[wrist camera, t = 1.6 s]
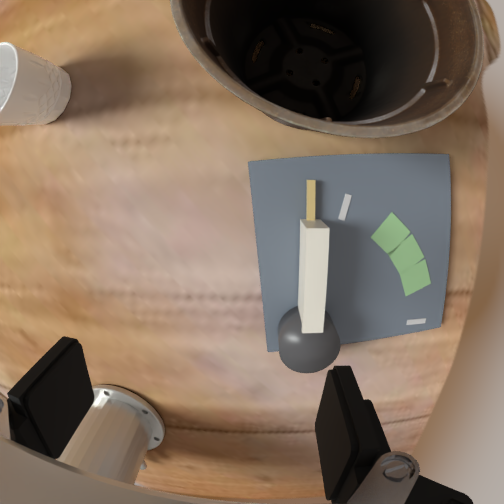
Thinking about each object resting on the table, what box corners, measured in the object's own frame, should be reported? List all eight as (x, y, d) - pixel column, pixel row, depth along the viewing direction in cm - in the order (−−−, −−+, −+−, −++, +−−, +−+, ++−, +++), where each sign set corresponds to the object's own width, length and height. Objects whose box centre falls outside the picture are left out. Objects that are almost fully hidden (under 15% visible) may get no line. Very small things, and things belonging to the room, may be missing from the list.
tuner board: (436, 323, 32) (440, 327, 31) (267, 347, 33) (267, 352, 32) (444, 154, 27) (449, 154, 26) (248, 161, 28) (247, 161, 27)
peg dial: (330, 351, 31) (338, 375, 27) (277, 353, 32) (278, 377, 28) (341, 180, 27) (354, 183, 23) (278, 179, 27) (281, 181, 23)
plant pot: (200, 134, 27) (130, 103, 12) (234, -10, 23) (213, -118, 8) (371, 170, 28) (474, 181, 12) (392, 25, 23) (472, -49, 8)
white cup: (61, 50, 25) (6, 26, 15) (87, 95, 26) (28, 77, 17) (17, 97, 26) (-40, 89, 16) (40, 144, 28) (-22, 144, 18)
